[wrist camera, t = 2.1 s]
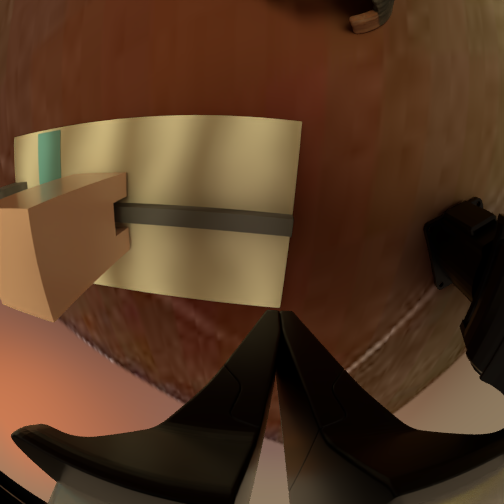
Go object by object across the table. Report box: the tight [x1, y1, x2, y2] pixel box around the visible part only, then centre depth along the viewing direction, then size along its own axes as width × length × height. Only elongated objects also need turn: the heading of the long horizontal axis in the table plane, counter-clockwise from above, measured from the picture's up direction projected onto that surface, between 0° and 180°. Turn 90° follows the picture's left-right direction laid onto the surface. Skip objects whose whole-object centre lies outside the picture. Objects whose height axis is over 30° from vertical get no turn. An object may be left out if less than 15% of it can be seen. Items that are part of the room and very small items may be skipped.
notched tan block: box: [0, 172, 130, 322], centre depth 15 cm, size 5×6×10 cm
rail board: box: [0, 115, 302, 308], centre depth 18 cm, size 26×14×6 cm, turn 86°
